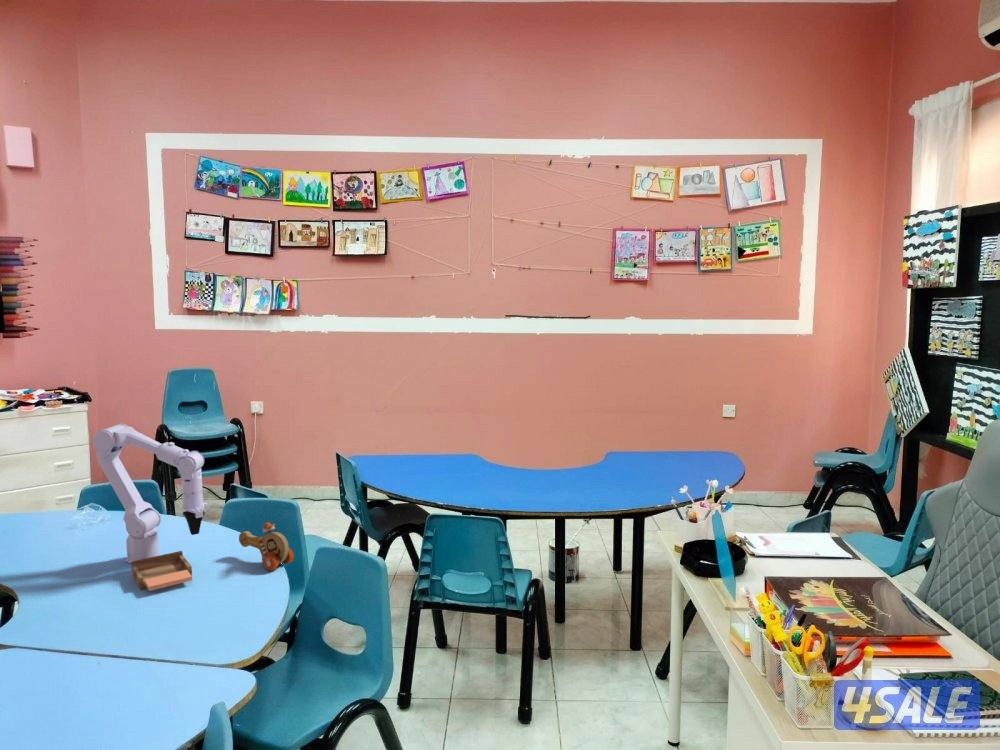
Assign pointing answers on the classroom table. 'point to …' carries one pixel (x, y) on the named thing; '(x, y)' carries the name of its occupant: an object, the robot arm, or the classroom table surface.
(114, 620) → the classroom table surface
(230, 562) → the classroom table surface
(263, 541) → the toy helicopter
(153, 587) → the orange rectangular block
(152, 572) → the open wooden crate
